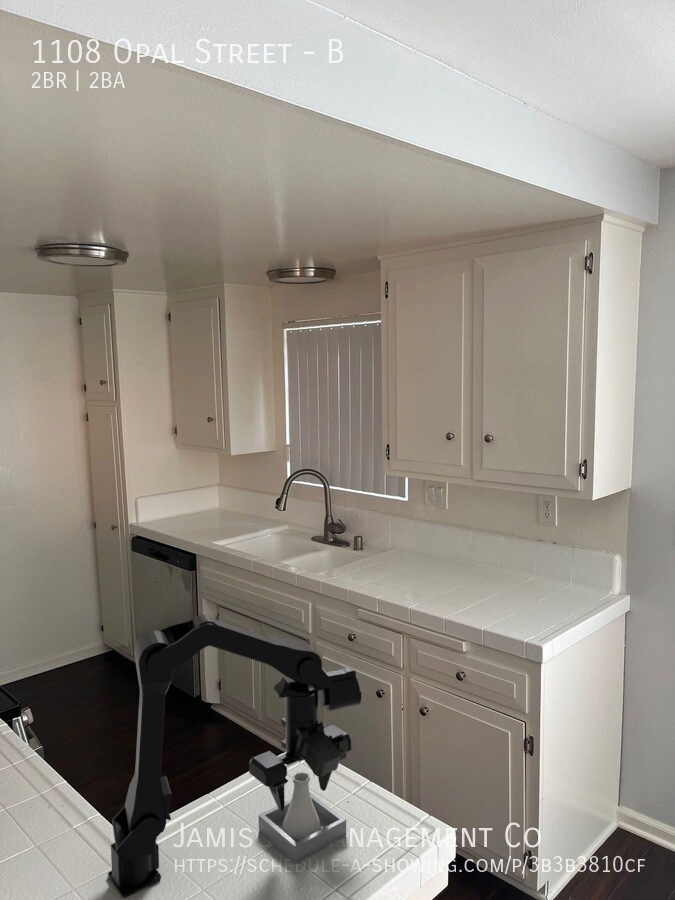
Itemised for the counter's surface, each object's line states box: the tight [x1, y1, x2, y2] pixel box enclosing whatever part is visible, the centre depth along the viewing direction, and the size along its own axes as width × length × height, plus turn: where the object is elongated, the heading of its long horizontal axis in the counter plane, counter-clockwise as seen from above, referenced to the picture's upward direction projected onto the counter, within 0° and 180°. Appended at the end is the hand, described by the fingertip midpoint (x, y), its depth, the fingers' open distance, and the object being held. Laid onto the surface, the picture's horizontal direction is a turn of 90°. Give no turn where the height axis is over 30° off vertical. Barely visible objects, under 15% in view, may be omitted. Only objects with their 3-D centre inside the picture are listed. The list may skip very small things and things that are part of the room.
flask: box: [282, 771, 321, 842], centre depth 121 cm, size 7×7×10 cm
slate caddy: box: [258, 791, 347, 865], centre depth 121 cm, size 11×11×3 cm
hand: (302, 799), depth 121 cm, fingers open, 9 cm apart
